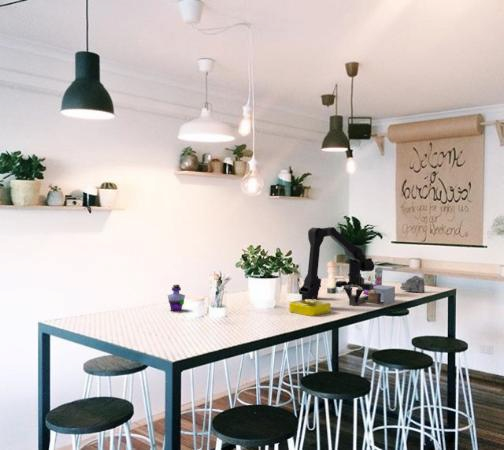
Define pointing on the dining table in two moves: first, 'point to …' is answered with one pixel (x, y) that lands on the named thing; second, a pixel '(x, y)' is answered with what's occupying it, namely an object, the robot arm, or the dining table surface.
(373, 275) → the candy bar box
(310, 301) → the element tile
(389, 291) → the cubby
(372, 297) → the cube
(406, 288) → the mineral rock
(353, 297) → the hook tool
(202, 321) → the dining table surface
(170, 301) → the potion bottle
